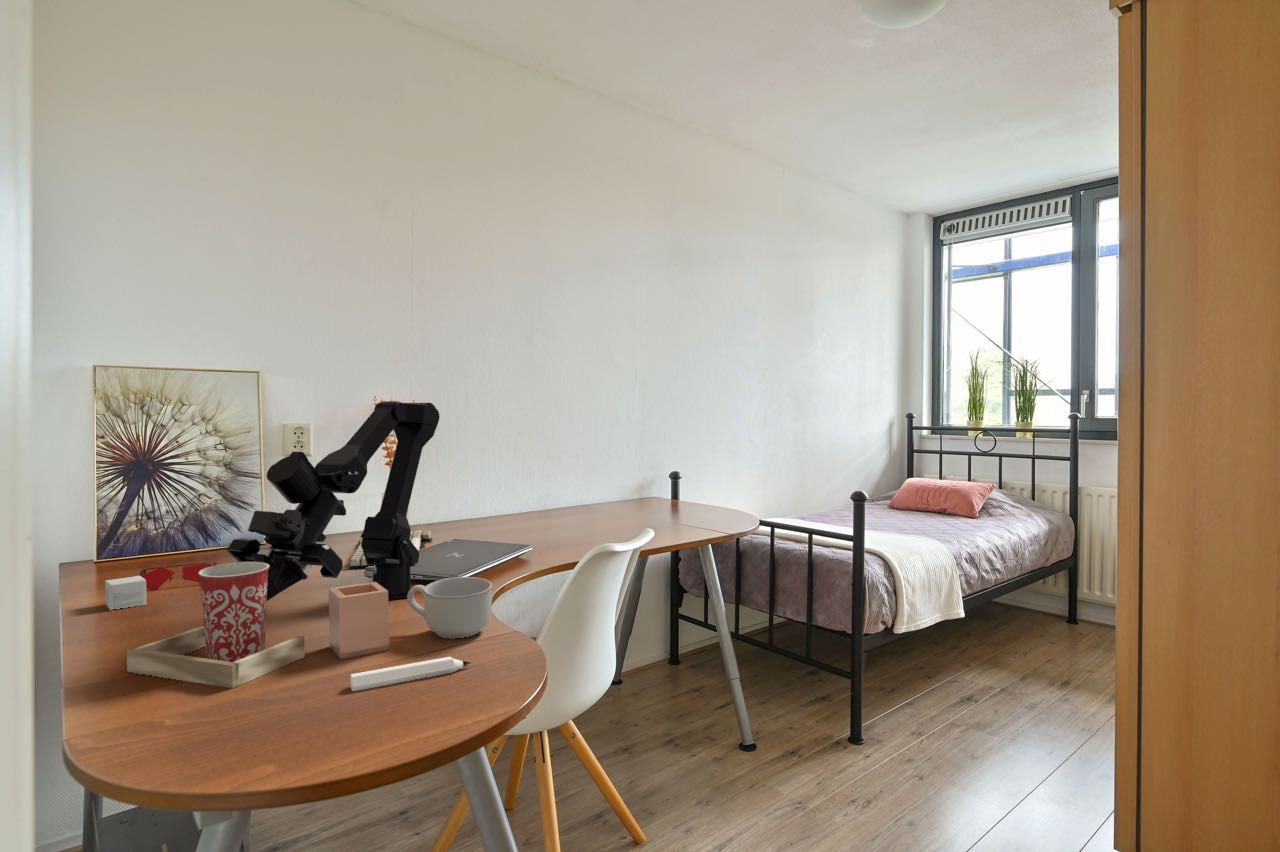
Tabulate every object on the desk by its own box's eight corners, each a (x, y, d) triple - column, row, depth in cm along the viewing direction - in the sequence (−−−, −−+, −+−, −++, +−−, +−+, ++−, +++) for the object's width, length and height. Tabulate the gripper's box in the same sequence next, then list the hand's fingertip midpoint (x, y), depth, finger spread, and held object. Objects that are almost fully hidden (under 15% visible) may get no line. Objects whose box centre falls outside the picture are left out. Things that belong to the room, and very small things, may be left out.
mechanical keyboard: (430, 568, 168) (430, 553, 168) (342, 574, 163) (342, 559, 163) (432, 540, 205) (432, 528, 205) (360, 544, 200) (360, 531, 200)
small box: (140, 599, 140) (140, 574, 140) (147, 605, 136) (146, 579, 135) (104, 605, 136) (103, 579, 136) (110, 611, 132) (109, 584, 131)
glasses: (136, 594, 145) (135, 569, 145) (143, 577, 159) (143, 555, 159) (216, 585, 152) (216, 562, 152) (217, 570, 166) (216, 548, 166)
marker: (472, 674, 102) (351, 696, 94) (468, 663, 104) (349, 683, 96) (475, 661, 101) (353, 682, 93) (471, 650, 103) (351, 669, 95)
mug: (274, 663, 104) (272, 570, 104) (201, 676, 99) (198, 578, 99) (266, 639, 115) (264, 554, 114) (199, 649, 110) (197, 561, 110)
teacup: (504, 627, 121) (504, 579, 121) (468, 647, 111) (468, 595, 111) (433, 619, 126) (433, 573, 125) (393, 638, 115) (392, 588, 115)
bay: (206, 644, 113) (206, 625, 113) (304, 656, 107) (304, 636, 107) (127, 672, 101) (126, 650, 101) (232, 688, 95) (232, 665, 95)
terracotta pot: (376, 638, 116) (375, 581, 115) (389, 650, 110) (388, 591, 110) (329, 646, 112) (328, 588, 111) (340, 659, 106) (339, 598, 106)
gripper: (235, 488, 118) (173, 570, 108) (329, 492, 112) (272, 579, 102) (274, 529, 125) (220, 609, 115) (364, 535, 120) (315, 620, 109)
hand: (254, 604), depth 110 cm, fingers closed
